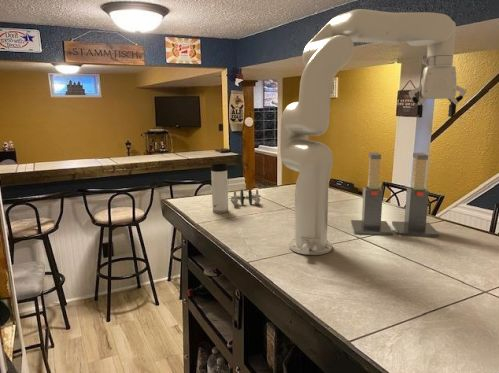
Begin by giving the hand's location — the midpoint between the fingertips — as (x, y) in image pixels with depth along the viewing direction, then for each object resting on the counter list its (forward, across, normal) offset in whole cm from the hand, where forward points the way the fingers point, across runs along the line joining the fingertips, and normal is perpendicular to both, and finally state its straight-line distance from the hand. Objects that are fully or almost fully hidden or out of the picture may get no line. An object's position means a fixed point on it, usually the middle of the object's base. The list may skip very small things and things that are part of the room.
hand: (435, 117), depth 126 cm
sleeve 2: (+37, -6, -8) cm, 38 cm away
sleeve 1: (+37, -20, -8) cm, 42 cm away
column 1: (+30, -20, -8) cm, 37 cm away
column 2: (+31, -6, -8) cm, 32 cm away
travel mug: (+36, -76, +7) cm, 85 cm away
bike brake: (+37, -69, +24) cm, 82 cm away
